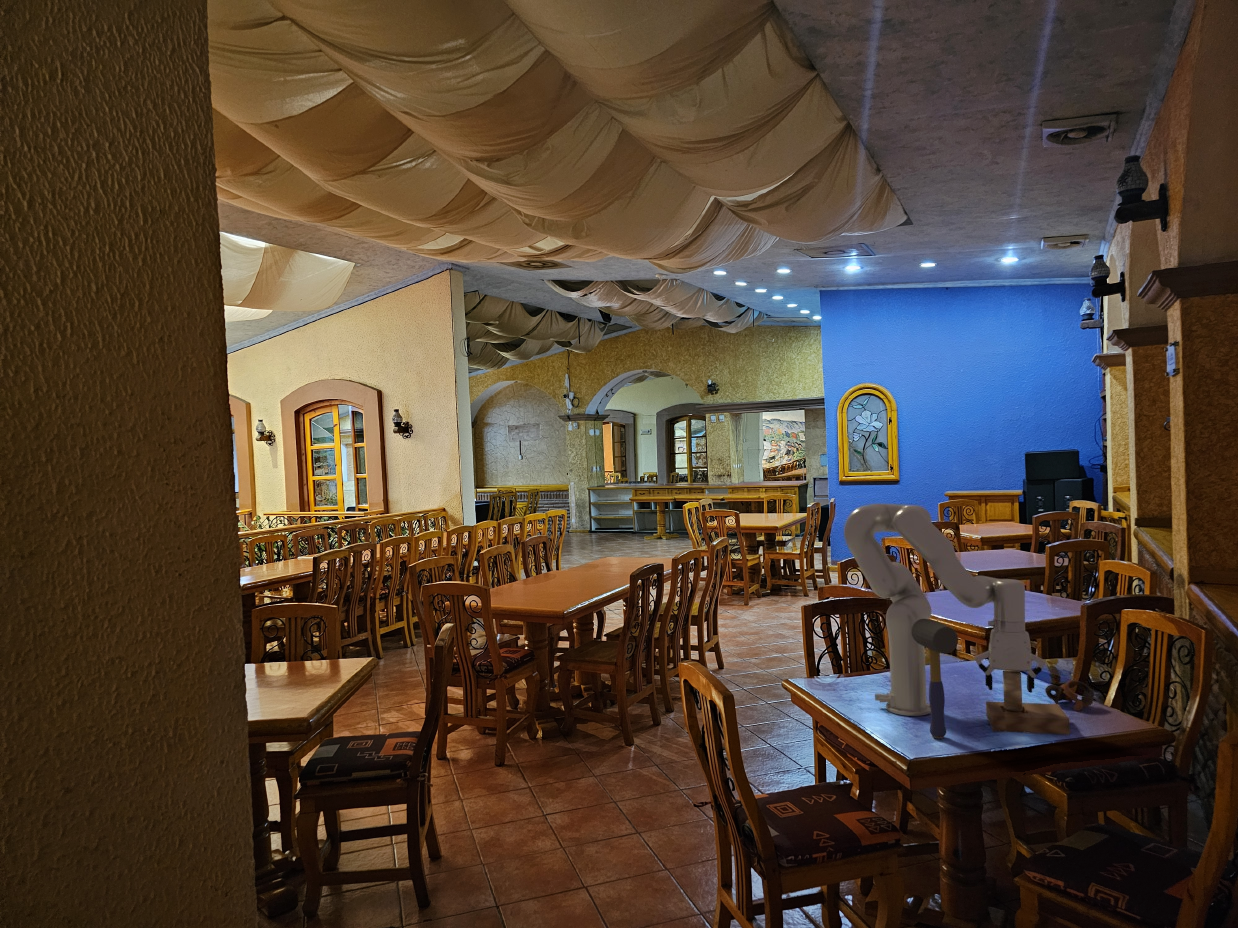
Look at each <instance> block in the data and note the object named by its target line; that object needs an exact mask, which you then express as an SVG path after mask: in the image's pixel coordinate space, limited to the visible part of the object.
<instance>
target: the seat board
mask: <svg viewBox="0 0 1238 928" xmlns="http://www.w3.org/2000/svg"><path fill="white" fill-rule="evenodd" d="M1022 707H1023V711H1021V713H1009V712H1006V710H1004V701H991V700H990V701H985V711H986V712H985V713H986V714H985V716H986V718H987V720H988V722H989V725H990V727H991V729H992V732H1004V731H1006V732H1007V733H1023V732H1029V733H1028V734H1044V733H1047V734H1048V733H1050V734H1049V735H1065V734H1070V735H1071V728H1070V717H1069V716H1068V715H1067V714H1066V712H1065V711H1064V710H1063V709H1062V707H1061V706H1060V705H1059V703H1058V704H1056V703H1040V702H1039V703H1038V702H1036V703H1033V702H1022ZM1006 732H1005V733H1006ZM1047 734H1046V735H1047Z"/></svg>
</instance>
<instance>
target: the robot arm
mask: <svg viewBox="0 0 1238 928" xmlns="http://www.w3.org/2000/svg"><path fill="white" fill-rule="evenodd" d="M932 520H933V519H932V516H931V513H930V512H929V511H928V510H927V509H926V508H925V507H924V506H921V505H917V504H916V505H914V504H897V503H896V504H894V503H872V504H866V505H863V506H859V507H857V508H855V509H854V510H853V511H852V512H851V513H850V514H849V515H848V517H847V518H846V521H845V524H844V528H843V537H844V540H845V544H846V546H847V548H848V550H849V552H850V553H851V555H852V557H853V558H854V560H855V561H856V563H857V565H858V567H859V569H860V570H861V571H860V572H861V573H862V574H863V576H864V577H865V579H866V581H867V583H868V585H869V586H870V588H871V590H872V592H873V593H874V594H875V595H876V596H878V597H880V598H882V599H890V600H891V602H892V603H891V604H890V605H889V607H888V609H887V611H886V614H885V624H886V630H887V636H888V648H889V668H890V669H889V670H890V671H889V672H890V690H889V692H886V693H883V694H882V693H874V700H875V702H876V701H877V702H879V703H886V704H885V708H886V711H889V712H890V713H892V714H895V715H898V716H899V715H900V716H908V717H909V716H911V717H918V716H920V717H921V716H926V715H931V709H930V703H929V702H927V678H926V677H927V676H926V655H925V654H926V653H925V647H924V646H922V645H920V644H919V643H917V642H916V641H915V640H914V639H913V637H912V633H911V631H912V627H913V624H914V623H915V622H916V621H918V620H919V619H930V620H931V618H932V617H931V616H932V607H931V604H930V602H929V600H928V598H927V595H926V594H925V593H924V591H923V589H922V588H921V587H920V585H919V582H917V580H916V578H915V577H914V575H913V573H912V571H910V569H909V568H908V567H907V566H906V565H904V564H903V563H900V562H896V561H892V560H890V558H889V556H888V554H887V553H886V551H885V549H884V548H883V546H882V545H881V544H880V542H878V541H877V539H876V537H875V534H876V533H880V532H881V533H883V532H884V533H885V532H886V533H898V535H900V537H902V538H903V540H905V541H906V542H907V543H908V544H909V545H910V546H911V548H913V549H914V550H915V551H916V552H917V553H918V555H920V556H921V558H922V559H924V560H925V561H926V563H928V565H929V567H930V569H931V570H932V571H933V573H934V574H935V576H936V578H937V579H938V581H940V582H941V584H942V585H943V587H945V588H946V590H947V591H948V592H949V593H950V594H952V595H953V596H954V597H955V598H956V599H957V600H958V601H959V602H960V603H961V604H962V605H964V606H966V607H968V608H971V609H979V608H982V607H984V606H985V605H987V604H989V603H992V604H993V619H992V620H988V621H987V625H988V627H992V628H993V629H991V631H990V635H989V643H988V650H987V651H984V652H982V653H978V655H975V656H974V660H975V662H976V665H977V666H978V668H979V669H980V670H981V671H982V672H983V673H984V674H985V687H987V688H988V690H989V691H992V690H993V675H992V673H993V672H994V671H995V670H998V671H1004V670H1011V671H1020V672H1026V673H1027V675H1026V690H1027V692H1028V693H1029V694H1030V693H1033V690H1034V689H1035V678H1036V677H1037V675H1039V674H1040V673H1041V672H1042V671H1043V669H1044V667H1045V665H1046V664H1047V663H1046V660H1045V659H1043V658H1041V657H1039V656H1037V655H1036V654H1033V653H1032V648H1031V647H1032V646H1031V645H1032V644H1031V640H1030V639H1031V638H1030V634H1029V632H1028V631H1026V608H1025V607H1026V587H1025V586H1026V585H1025V583H1024V582H1023V581H1021V580H1018V579H1012V578H1010V579H1009V578H996V577H991V576H985V575H976V576H973V575H972V573H971V572H970V571H969V570H968V569H966V568H965V566H964V565H963V564H962V563H961V562H960V560H959V559H958V557H957V555H956V552H955V548H954V545H953V543H952V541H951V540H950V539H949V538H948V537H947V536H946V535H945V534H944V533H943V532H941V531H940V530H939V528H937V527H936V526H935V525H934V524H933V523H932ZM987 658H988V663H989V664H988V665H984V664H983V660H985V659H987ZM1033 661H1034V662H1036V663H1037V664H1036V666H1035V667H1034V668H1033V669H1032V664H1033V663H1032V662H1033Z"/></svg>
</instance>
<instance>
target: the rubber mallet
mask: <svg viewBox="0 0 1238 928" xmlns="http://www.w3.org/2000/svg"><path fill="white" fill-rule="evenodd" d="M911 633H912V637H913V639H914V640H915V641H916V642H917V643H919V644H920V645H922V646H924V648H926V649H928V650H929V670H930V671H929V672H930V673H929V675H930V679H929V680H930V681H929V686H928V688H929V689H928V703H929V704H930V709H931V713H930V727H929V733H930V735H931V736H932V738H934V739H939V740H940V739H944V738H945V736H946V734H947V728H946V727H947V726H946V725H945V723H946V722H945V703H946V702H945V701H946V700H945V688H944V684H943V681H942V674H941V655H940V654H950V653H952V652H954V651H955V649H957V646H958V644H959V637H958V633H957V631H956V630H955V629H954V628H952V627H950V626H949V625H947V624H944V623H941V622H939V621H936V620H933V619H931V618H930V619H919V620H918V621H916V622H915V623H914V624H913V627H912V631H911Z"/></svg>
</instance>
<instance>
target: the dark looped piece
mask: <svg viewBox="0 0 1238 928" xmlns="http://www.w3.org/2000/svg"><path fill="white" fill-rule="evenodd" d="M1076 686H1078V687H1079V688H1080V690H1081V691H1084V692H1085V691H1086V692H1087V693H1088V694H1089V695H1088V696H1081V699H1080V698H1078V697H1079V694H1078V693H1076V692H1074V691H1073V690H1072V689H1073V688H1075V687H1076ZM1044 691H1045V694H1046V696H1047V697H1048V698H1049V699H1050V700H1052V701H1053V702H1054V704H1058V705H1059V702H1062V701H1066V702H1070V703H1071V702H1075V704H1074V706H1073V710H1074V711H1076V712H1080V711H1081V710H1082V709H1085V708H1088V707H1090V706H1091V705H1093V704H1094V703H1093V702H1094V701H1095V700H1094V695H1095V693H1094V690H1093V689H1092V688H1091V687H1090V686H1089V685H1088V684H1086V683H1085V682H1082V681H1079V680H1074V679H1069V680H1067V681H1066V683H1063V684H1061V685H1060V686H1058V685H1056V684H1049V685H1047V686H1046V687H1045V690H1044ZM1052 692H1054V694H1053V693H1052Z"/></svg>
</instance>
